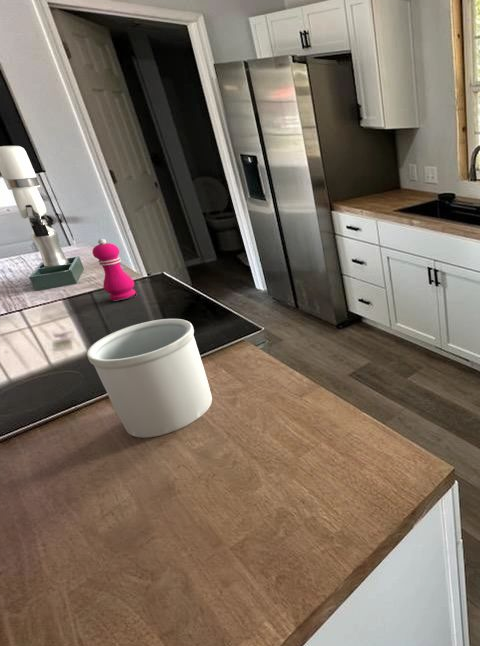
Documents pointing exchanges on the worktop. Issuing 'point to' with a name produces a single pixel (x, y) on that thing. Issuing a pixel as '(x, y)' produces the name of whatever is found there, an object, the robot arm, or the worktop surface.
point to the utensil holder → (153, 376)
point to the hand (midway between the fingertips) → (44, 233)
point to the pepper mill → (113, 271)
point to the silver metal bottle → (50, 248)
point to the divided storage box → (57, 274)
